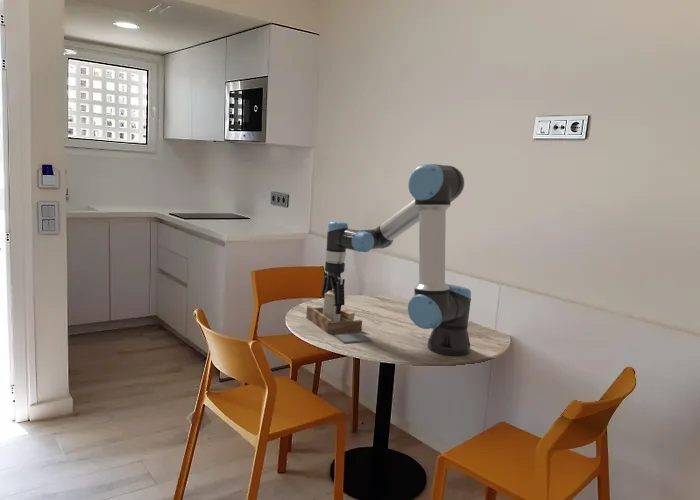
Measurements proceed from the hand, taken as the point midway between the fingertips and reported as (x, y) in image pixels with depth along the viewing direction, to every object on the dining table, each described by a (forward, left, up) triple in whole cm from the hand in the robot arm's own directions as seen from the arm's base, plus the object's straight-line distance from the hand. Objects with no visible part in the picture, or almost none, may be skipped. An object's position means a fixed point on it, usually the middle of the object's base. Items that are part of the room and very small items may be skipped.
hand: (331, 318), depth 222 cm
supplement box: (0, 0, -3) cm, 3 cm away
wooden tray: (0, -1, -2) cm, 3 cm away
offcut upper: (-1, -6, 0) cm, 6 cm away
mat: (-19, -1, -2) cm, 19 cm away
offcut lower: (0, -6, -3) cm, 6 cm away
